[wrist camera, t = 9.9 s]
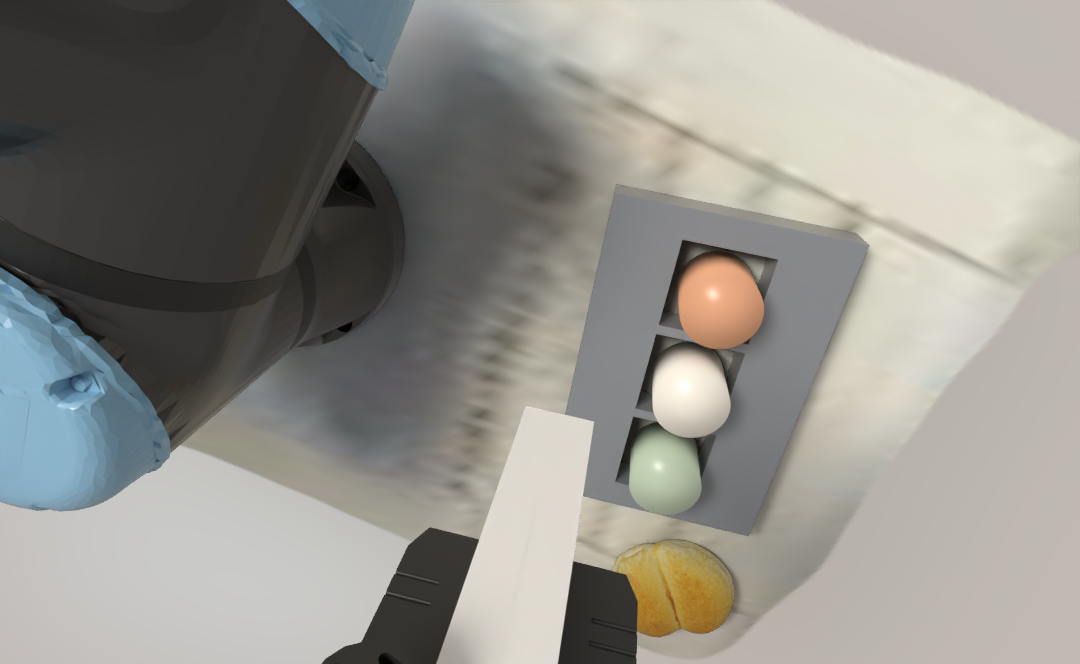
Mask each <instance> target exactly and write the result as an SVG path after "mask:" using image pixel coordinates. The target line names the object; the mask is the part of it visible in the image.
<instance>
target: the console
mask: <svg viewBox="0 0 1080 664" xmlns="http://www.w3.org/2000/svg"><path fill="white" fill-rule="evenodd" d="M682 240H687V241H692V242H697V243H701V244H706V245H711V246H716V247H721V248H725V249H730V250H735V251H740V252H744V253H749V254H754V255H759V256H763V257H768V258H767V261H766V264H765V266H764V269H763V272H762V275H761V278H760V281H759V284H758V289H759V292H760V294H761V296H762V299H763V303H764V316H763V320H762V323H761V325H760V327H759V329H758V330H757V331H756V333H755V334H754V335H753V336H752V337H751V338H750V339H748V340H747V341H746V342H744V343H742V344H740V345H738V346H735V347H732V348H727V350H731V351H735V354H734V357H733V360H732V362H731V365H730V368H729V371H728V374H727V377H726V383H727V388H728V392H729V397H730V403H731V407H730V412H729V415H728V418H727V419H726V421H725V422H724V424H723V425H722V426H721V427H720V428H719V429H717V430H716V431H714V432H713V433H711V434H708V435H706V438H705V441H704V444H703V447H702V450H701V453H700V456H699V458H698V460H699V468H700V477H701V487H702V488H701V494H700V497H699V499H698V500H697V502H696V503H695V504H694V505H693V506H692V507H691V508H689V509H688V510H686V511H684V512H681V513H678V514H673V515H663V516H667V517H671V518H676V519H680V520H684V521H688V522H692V523H696V524H700V525H705V526H709V527H713V528H717V529H721V530H725V531H729V532H733V533H738V534H742V535H746V536H749V534H750V532H751V530H752V527H753V525H754V522H755V520H756V517H757V515H758V513H759V510H760V508H761V505H762V503H763V501H764V498H765V496H766V493H767V491H768V488H769V486H770V484H771V481H772V479H773V476H774V474H775V472H776V469H777V467H778V464H779V462H780V459H781V457H782V455H783V452H784V450H785V447H786V445H787V443H788V440H789V438H790V435H791V433H792V430H793V428H794V426H795V423H796V421H797V418H798V416H799V414H800V411H801V409H802V406H803V404H804V401H805V399H806V397H807V394H808V392H809V389H810V387H811V385H812V382H813V380H814V377H815V375H816V373H817V370H818V368H819V365H820V363H821V360H822V358H823V356H824V353H825V351H826V348H827V346H828V344H829V341H830V339H831V336H832V334H833V331H834V329H835V327H836V324H837V322H838V319H839V317H840V315H841V312H842V310H843V307H844V305H845V302H846V300H847V298H848V295H849V293H850V290H851V288H852V286H853V283H854V281H855V278H856V276H857V273H858V271H859V269H860V266H861V264H862V261H863V259H864V257H865V254H866V252H867V249H868V247H869V245H868V244H867V243H866V242H865V241H864V240H863V239H862V238H861V237H860V236H859V235H858V234H856V233H852V232H847V231H843V230H838V229H833V228H828V227H823V226H818V225H813V224H808V223H804V222H799V221H794V220H789V219H784V218H779V217H774V216H769V215H765V214H760V213H755V212H750V211H745V210H740V209H735V208H730V207H726V206H721V205H716V204H711V203H706V202H701V201H696V200H692V199H687V198H682V197H677V196H672V195H667V194H662V193H657V192H653V191H648V190H643V189H638V188H633V187H628V186H623V185H618V184H616V188H615V192H614V197H613V201H612V206H611V210H610V215H609V219H608V224H607V228H606V233H605V237H604V242H603V246H602V251H601V255H600V260H599V264H598V269H597V273H596V278H595V282H594V287H593V291H592V296H591V300H590V305H589V309H588V314H587V318H586V323H585V327H584V332H583V337H582V341H581V346H580V350H579V355H578V359H577V364H576V368H575V373H574V377H573V382H572V386H571V391H570V395H569V400H568V404H567V409H566V413H565V415H568V416H573V417H577V418H581V419H585V420H590V421H594V426H593V432H592V439H591V445H590V452H589V459H588V465H587V472H586V479H585V485H584V492H583V496H585V497H589V498H593V499H597V500H601V501H605V502H609V503H614V504H618V505H622V506H626V507H630V508H634V509H638V510H643V511H647V510H646V509H644V508H642V507H641V506H640V505H639V504H637V502H636V501H635V500H634V499H633V497H632V495H631V493H630V489H629V478H630V464H626V463H622V462H621V459H622V455H623V451H624V448H625V444H626V441H627V437H628V434H629V430H630V426H631V423H632V419H633V416H634V417H638V418H642V419H647V420H651V421H655V422H658V421H657V419H656V417H655V415H654V412H653V401H652V394H651V393H646V392H642V391H640V390H641V387H642V383H643V380H644V376H645V372H646V369H647V365H648V362H649V358H650V354H651V351H652V347H653V344H654V340H655V336H656V334H659V335H663V336H668V337H672V338H677V339H681V340H686V341H690V342H695V341H693V340H692V339H691V338H690V337H689V336H688V335H687V334H686V332H685V331H684V329H683V327H682V324H681V321H680V315H679V314H674V313H670V312H665V311H663V308H664V304H665V301H666V297H667V293H668V290H669V286H670V283H671V279H672V275H673V272H674V268H675V265H676V261H677V257H678V254H679V250H680V247H681V243H682ZM695 343H696V342H695ZM647 512H650V511H647ZM651 513H652V512H651ZM659 515H660V514H659Z"/></svg>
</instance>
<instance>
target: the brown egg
mask: <svg viewBox="0 0 1080 664" xmlns="http://www.w3.org/2000/svg"><path fill="white" fill-rule="evenodd" d="M677 297H678V306H679V315H680V321H681V324H682V327H683V329H684V331H685V332H686V334H687V335H688V336H689V337H690V338H691V339H692V340H693V341H695V342H696V343H698V344H700V345H702V346H704V347H708V348H712V349H727V348H732V347H735V346H738V345H740V344H742V343H744V342H746V341H747V340H748V339H750V338H751V337H752V336H753V335H754V334H755V333H756V331H757V330H758V329H759V327H760V325H761V323H762V320H763V316H764V303H763V299H762V296H761V294H760V292H759V289H758V287H757V285H756V283H755V280H754V278H753V276H752V274H751V271H750V269H749V268H748V266H747V265H746V264H745V262H744V261H743V260H741V259H740V258H739V257H737V256H735V255H733V254H731V253H728V252H723V251H711V252H706V253H703V254H700V255H698V256H696V257H695V258H693V259H692V260H690V261H689V262H688V263H687V264H686V265H685V266H684V268H683V269H682V271H681V273H680V275H679V277H678V281H677Z"/></svg>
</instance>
